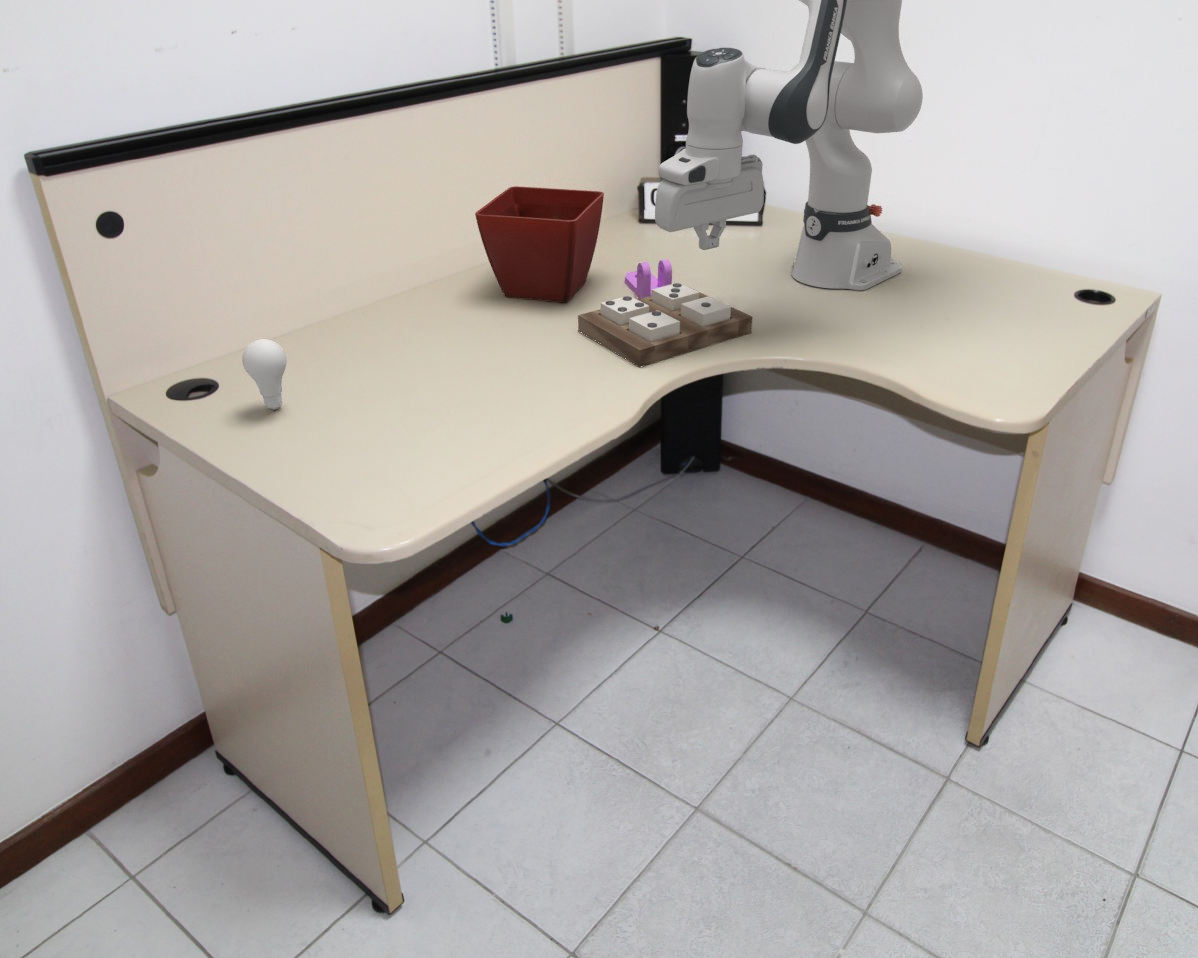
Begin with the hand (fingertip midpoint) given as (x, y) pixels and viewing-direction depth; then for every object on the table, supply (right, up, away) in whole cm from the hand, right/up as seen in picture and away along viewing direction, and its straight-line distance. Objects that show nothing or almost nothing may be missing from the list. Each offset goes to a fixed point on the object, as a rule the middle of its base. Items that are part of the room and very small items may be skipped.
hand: (708, 248), depth 158 cm
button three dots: (-5, -8, +13) cm, 16 cm away
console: (-7, -13, +8) cm, 17 cm away
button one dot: (0, -11, +7) cm, 13 cm away
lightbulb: (-67, -28, -15) cm, 74 cm away
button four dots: (-14, -11, +8) cm, 19 cm away
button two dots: (-9, -15, +2) cm, 17 cm away
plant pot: (-29, -2, +27) cm, 39 cm away
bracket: (-9, -2, +27) cm, 28 cm away
